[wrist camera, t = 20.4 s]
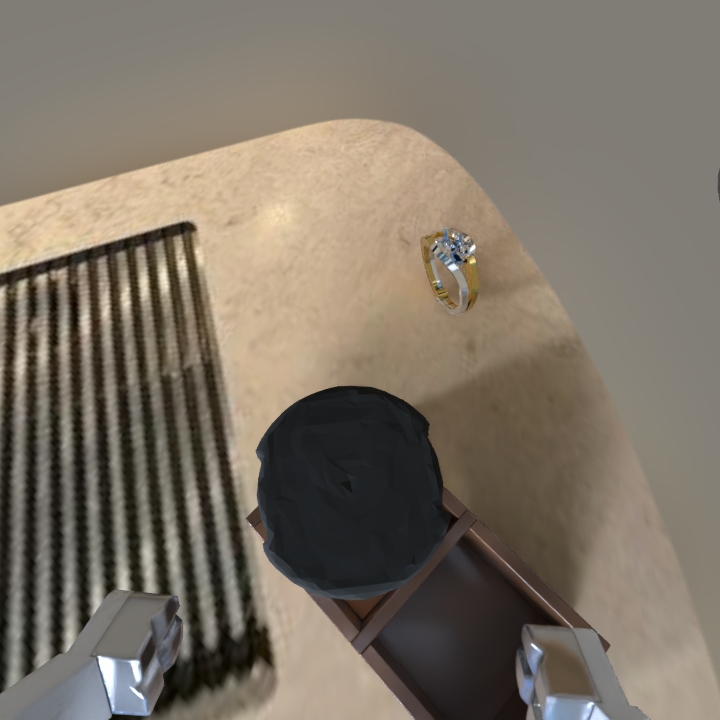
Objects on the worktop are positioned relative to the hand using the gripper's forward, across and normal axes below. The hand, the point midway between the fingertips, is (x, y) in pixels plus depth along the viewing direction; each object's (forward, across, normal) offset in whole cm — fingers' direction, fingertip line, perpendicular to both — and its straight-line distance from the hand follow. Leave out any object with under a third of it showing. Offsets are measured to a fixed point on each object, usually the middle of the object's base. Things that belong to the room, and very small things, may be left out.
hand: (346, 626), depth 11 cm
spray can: (+18, 0, +13) cm, 22 cm away
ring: (+33, -5, 0) cm, 33 cm away
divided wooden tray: (+17, -3, +16) cm, 23 cm away
